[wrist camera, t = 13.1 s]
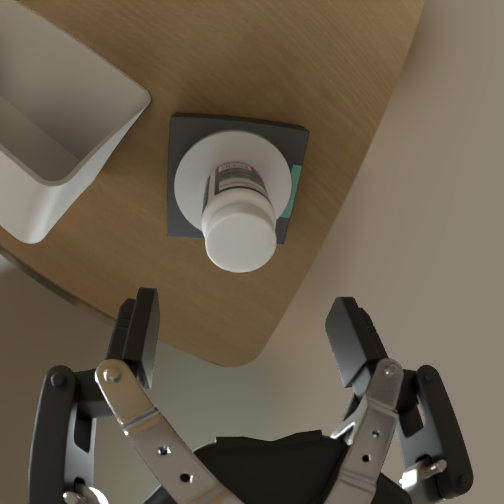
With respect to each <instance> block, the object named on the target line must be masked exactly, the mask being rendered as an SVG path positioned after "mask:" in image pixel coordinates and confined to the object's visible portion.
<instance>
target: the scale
mask: <svg viewBox="0 0 504 504" xmlns="http://www.w3.org/2000/svg"><path fill="white" fill-rule="evenodd" d="M308 136H309V131H308V130H307V129H305V128H304V127H302V126H299V125H293V124H287V123H281V122H275V121H268V120H261V119H253V118H245V117H235V116H225V115H213V114H199V113H178V112H176V113H174V114H173V115H172V116H171V119H170V134H169V152H168V182H167V236H169V237H186V238H202V239H205V237H204V235H203V232H202V227H201V217H202V208H203V199H204V191H205V184H206V181H207V178H208V176H209V175H210V173H211V172H212V171H213V170H214V169H215V168H217V167H218V166H220V165H222V164H224V163H227V162H243V163H246V164H248V165H250V166H252V167H253V168H254V169H256V170H257V172H258V173H259V174H260V176H261V178H262V180H263V182H264V185H265V188H266V191H267V193H268V196H269V198H270V201H271V203H272V206H273V208H274V212H275V217H276V228H275V233H276V238H277V244H284V240H285V236H286V232H287V228H288V224H289V220H290V216H291V211H292V207H293V203H294V199H295V194H296V190H297V186H298V181H299V177H300V173H301V168H302V164H303V159H304V155H305V150H306V146H307V141H308Z"/></svg>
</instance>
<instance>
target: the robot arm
mask: <svg viewBox="0 0 504 504" xmlns="http://www.w3.org/2000/svg"><path fill="white" fill-rule="evenodd" d="M159 325H160V310H159V301H158V292H157V289H154V288H142V287H140V288H139V290H138V294H137V298H136V299H127V300H126V301H125V302H124V303H123V304H122V305H121V307H120V309H119V313H118V316H117V319H116V323H115V327H114V330H113V333H112V337H111V341H110V344H109V348H108V352H107V356H106V359H105V360H104V361H103V362H102V363H100V365H99V366H98V367H97V368H95V369H92V370H88V371H80V372H72V370H71V369H70V368H68V367H66V366H63V365H58V366H54V367H52V368H51V369H50V370H49V371H48V372H47V373H46V375H45V377H44V381H43V385H42V390H41V394H40V398H39V403H38V408H37V413H36V419H35V424H34V431H33V437H32V445H31V453H30V463H29V476H28V504H108V502H107V500H106V498H105V497H104V495H103V494H102V493H101V492H99V491H98V490H96V489H93V461H94V442H95V429H96V419H97V418H102V417H109V416H116V418H117V420H118V422H119V423H120V425H121V427H122V429H123V431H124V432H125V434H126V436H127V437H128V439H129V440H130V442H131V443H132V445H133V446H134V448H135V449H136V451H137V452H138V454H139V455H140V457H141V458H142V459H143V461H144V462H145V464H146V465H147V466H148V468H149V469H150V470H151V471H152V473H153V474H154V475H155V477H156V478H157V479H158V481H159V482H160V483H161V485H160V486H159V487H158V488H157V489H156V490H155V491H154V492H153V493H152V494H151V495H150V496H149V498H147V499H146V500H145V501H144V502H143V503H142V504H436V503H439V502H443V501H445V500H448V499H451V498H454V497H457V496H460V495H462V494H465V493H466V492H468V491H469V490H470V488H471V486H472V484H473V472H472V468H471V464H470V461H469V457H468V454H467V450H466V447H465V443H464V440H463V437H462V434H461V431H460V428H459V425H458V422H457V419H456V416H455V414H454V411H453V408H452V406H451V403H450V400H449V397H448V395H447V392H446V390H445V387H444V385H443V382H442V380H441V378H440V375H439V373H438V372H437V370H436V369H435V368H433V367H432V366H430V365H423V366H421V367H420V368H419V369H418V370H417V371H412V370H406V369H402V367H401V365H400V364H399V363H398V362H396V361H395V360H393V359H390V358H388V356H387V353H386V351H385V349H384V347H383V344H382V342H381V340H380V338H379V335H378V333H376V329H375V327H374V326H373V323H372V320H371V319H370V316H369V315H368V314H367V313H366V312H365V311H364V310H363V308H359V307H358V305H357V303H356V301H355V299H354V298H353V297H337V298H336V299H335V302H334V304H333V306H332V308H331V310H330V312H329V314H328V316H327V319H326V324H325V328H326V332H327V335H328V338H329V342H330V345H331V347H332V351H333V353H334V357H335V360H336V363H337V366H338V369H339V373H340V376H341V379H342V382H343V386H344V388H348V387H353V389H354V392H353V393H352V395H351V397H350V399H349V402H348V404H347V406H346V408H345V411H344V413H343V415H342V417H341V419H340V422H339V424H338V425H337V427H336V428H335V430H334V431H333V432H332V434H331V435H330V437H329V436H324V435H322V432H321V430H315V431H308V432H301V433H295V434H293V435H290V436H287V437H284V438H281V439H278V440H275V441H264V440H258V439H253V438H248V437H216V440H215V442H213V443H208V444H206V445H203V446H201V447H199V448H197V449H195V450H194V451H191V450H190V449H189V448H188V446H187V445H186V444H185V442H184V441H183V440H182V439H181V438H180V436H179V435H178V434H177V433H176V431H175V430H174V429H173V427H172V426H171V425H170V423H169V422H168V421H167V420H166V418H165V417H164V416H163V414H162V413H161V412H160V411H159V410H158V409H157V408H156V407H155V406H154V405H153V403H152V402H151V401H150V399H149V398H148V396H147V395H146V393H145V392H144V389H147V390H151V381H152V374H153V366H154V359H155V352H156V345H157V338H158V332H159ZM418 404H420V406H421V409H422V413H423V416H424V419H425V425H424V426H423V423H422V420H421V416H420V414H419V411H418V407H417V405H418ZM395 430H396V434H397V438H398V441H399V445H400V449H401V453H402V457H403V462H404V466H405V471H404V473H403V477H402V478H401V479H400V485H401V486H402V487H400V486H399V485H397V484H396V483H395V482H393V481H392V480H390V479H389V478H388V477H386V476H385V475H384V474H382V473H381V472H380V471H381V468H382V466H383V463H384V461H385V458H386V455H387V452H388V449H389V446H390V444H391V440H392V437H393V434H394V431H395Z"/></svg>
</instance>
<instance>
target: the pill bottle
mask: <svg viewBox="0 0 504 504" xmlns="http://www.w3.org/2000/svg"><path fill="white" fill-rule="evenodd" d="M201 227H202V232H203V235H204V237H205V246H206V251H207V254H208V256H209V257H210V259H211V260H212V261H213V262H214V263H215V264H216V265H217V266H219V267H220V268H222V269H225V270H227V271H232V272H248V271H252V270H255V269H257V268H259V267H261V266H263V265H264V264H265V263H266V262H268V261H269V259H270V258H271V257H272V255H273V254H274V252H275V249H276V244H277V238H276V233H275V228H276V217H275V212H274V208H273V206H272V203H271V201H270V198H269V196H268V193H267V191H266V188H265V185H264V182H263V180H262V178H261V176H260V174H259V173H258V172H257V170H256V169H254V168H253V167H252V166H250V165H248V164H246V163H243V162H227V163H224V164H222V165H220V166H218V167H217V168H215V169H214V170H213V171H212V172H211V173H210V175H209V176H208V178H207V181H206V184H205V191H204V199H203V208H202V217H201Z"/></svg>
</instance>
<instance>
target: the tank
mask: <svg viewBox="0 0 504 504" xmlns="http://www.w3.org/2000/svg"><path fill="white" fill-rule="evenodd" d="M150 101H151V97H150V94H149V93H148V91H147V90H146V89H145V88H144V87H142V86H141V85H140V84H138V83H137V82H136V81H134V80H133V79H132V78H131V77H129V76H128V75H127V74H125V73H124V72H123V71H121V70H120V69H119V68H117V67H116V66H115V65H113V64H112V63H110V62H109V61H108V60H106V59H105V58H104V57H102V56H101V55H99V54H98V53H97V52H95V51H94V50H92V49H91V48H90V47H88V46H87V45H85V44H84V43H82V42H81V41H80V40H78V39H77V38H75V37H74V36H72V35H71V34H69V33H68V32H66V31H65V30H63V29H62V28H60V27H59V26H57V25H56V24H54V23H52V22H51V21H49V20H48V19H46V18H45V17H43V16H41V15H40V14H38V13H37V12H35V11H33V10H32V9H30V8H28V7H27V6H25V5H23V4H22V3H20V2H18V1H16V0H0V225H1V226H2V227H3V228H4V229H6V230H7V231H8V232H9V233H10V234H12V235H13V236H14V237H15V238H17V239H18V240H20V241H22V242H25V243H37V242H39V241H41V240H42V239H43V238H44V237H45V236H46V234H47V233H48V232H49V231H50V229H51V228H52V227H53V226H54V224H55V223H56V222H57V221H58V220H59V218H60V217H61V216H62V215H63V214H64V212H65V211H66V210H67V209H68V208H69V207H70V206H71V204H72V203H73V202H74V201H75V200H76V199H77V198H78V197H79V196H80V195H81V193H82V192H83V191H84V190H85V189H86V188H87V187H88V186H89V185H90V184H91V183H92V182H93V181H94V179H95V178H96V176H97V175H98V173H99V171H100V170H101V168H102V167H103V165H104V164H105V162H106V161H107V159H108V158H109V156H110V155H111V153H112V152H113V151H114V149H115V148H116V146H117V145H118V143H119V142H120V141H121V139H122V138H123V137H124V135H125V134H126V133H127V131H128V130H129V129H130V127H131V126H132V125H133V123H134V122H135V121H136V120H137V118H138V117H139V116H140V114H141V113H142V112H143V111H144V110H145V108H146V107H147V106H148V105H149V103H150Z"/></svg>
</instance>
